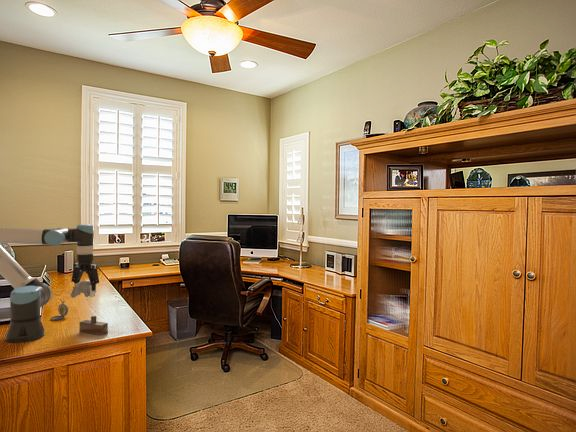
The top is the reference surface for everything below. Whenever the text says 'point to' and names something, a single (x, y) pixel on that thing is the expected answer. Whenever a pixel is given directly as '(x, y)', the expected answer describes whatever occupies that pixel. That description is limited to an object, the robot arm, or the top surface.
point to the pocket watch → (61, 312)
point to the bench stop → (93, 326)
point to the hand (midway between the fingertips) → (85, 296)
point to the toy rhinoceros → (82, 289)
